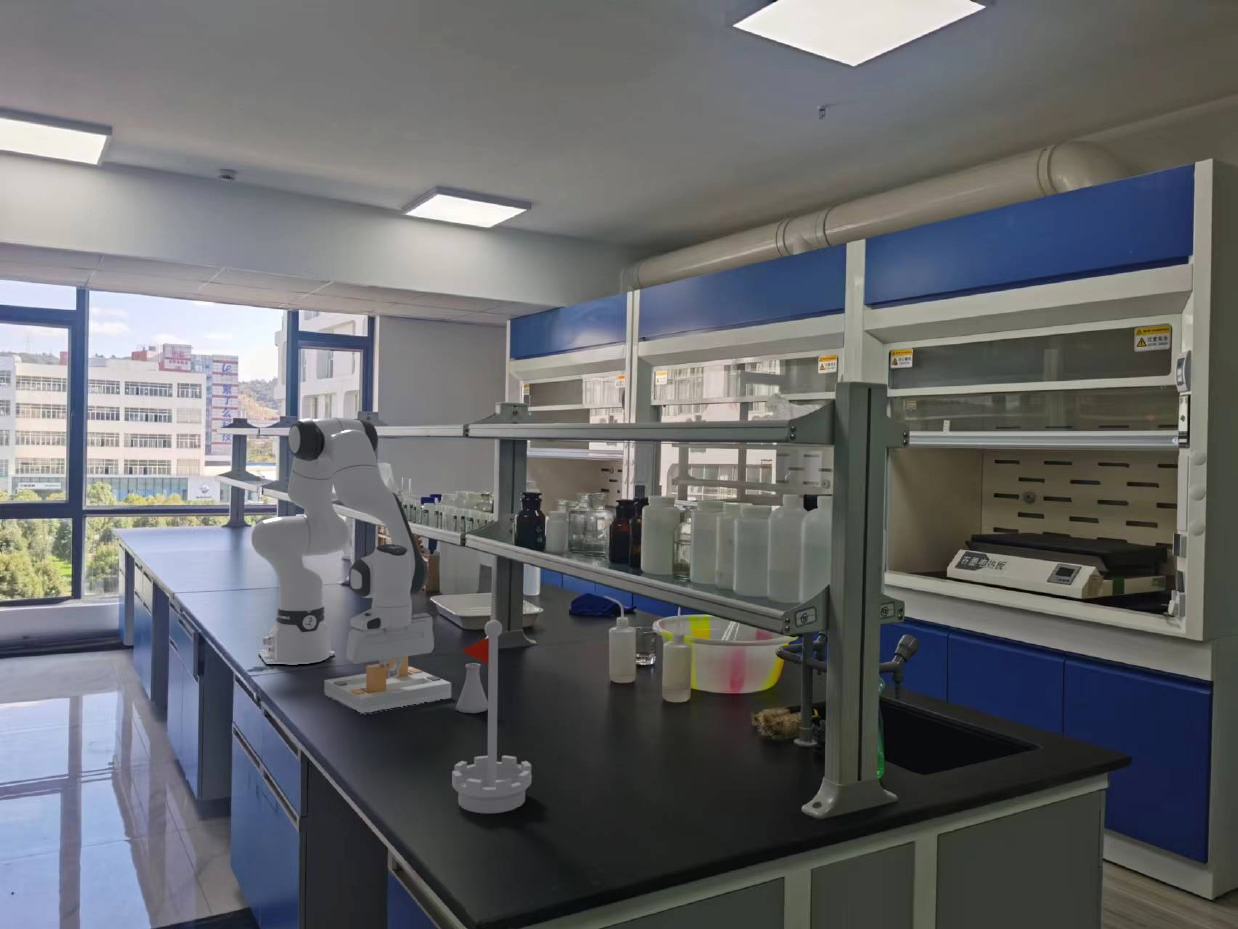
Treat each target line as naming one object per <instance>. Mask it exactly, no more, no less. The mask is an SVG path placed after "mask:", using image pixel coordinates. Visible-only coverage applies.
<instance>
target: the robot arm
mask: <svg viewBox="0 0 1238 929" xmlns="http://www.w3.org/2000/svg"><path fill="white" fill-rule="evenodd" d="M378 440H379V437H378V432H377V429H376V428H375V426H374V424H373V423H372V422H370V421H368V420H364V419H360V418H357V419H354V418H353V419H352V418H345V417H331V418H330V417H326V418H325V417H323V418H322V417H321V418H310V417H308V418H307V417H306V418H302V419H298V420H295V421H294V422H293V423H292V425H291V427H290V428H289V432H288V447H289V451H290V453H291V454H292V455H293V459H292V465H291V468H290V473H289V474H290V475H289V478H288V479H289V481H288V486H287V495H288V498H289V499H290V501H291V502H292V503H293V504H294V505H296V506H297V507H299V508H301V509H303V510H304V512H303V514H302V515H293V516H292V515H290V516H289V515H286V516H274V517H271V518H266V519H262V520H259V521H258V522H257V523H256V525H255V526H254V527H253V530H252V533H251V538H250V539H251V540H250V541H251V545H252V547H253V549H254V551H255V552H256V553H257V554H258V555H259V556H260V557H261V558H263V559H264V560H266V561H267V563H269V565H270V566H271V567H272V569H273V572H274V573H275V575H276V578H277V584H278V593H279V594H278V598H279V605H278V606H279V608H278V609H277V613H276V617H275V618H276V619H275V621H276V623H275V624H274V625H273V627H272V628H271V630H270V631H268V633H267V636H263V639H262V642H263V643H262V644H263V646H266V649H267V650H264V649H265V648H264V649H260V650H259V651H265V652H259V653H260V654H261V656H262V657H263V659H264V660H265V661H266V662H287V663H292V662H293V663H295V662H313V661H317V660H321V659H325V658H327V657H329V655H331V654H334V653H335V654H336V651H333V650H331V638H330V628H329V625H327V624H326V623H325V622H324V620H325V614H326V612H325V606H324V605H323V603H324V601H323V600H324V598H323V597H324V593H323V590H324V584H323V583H324V582H323V578H322V577H321V576H320V574H318V573H317V572H315V571H313V570H311V569H309V568H307V567H305V565H304V563H303V557H313V556H315V557H316V556H324V555H325V556H327V555H330V554H333V553H338V552H341V551H343V550H344V549H345V548H346V546H347V544H348V542H349V539H350V531H349V530H350V529H349V526H348V524H347V522H346V521H345V519H343V518H342V517H341V516H340V515H338V513H337V512H336V510H335V508H334V505H333V501H332V500H333V491H334V492H335V495H336V497H337V500H339V501H340V502H341V503H342V504H343V505H344V506H345V507H347V508H349V509H351V510H352V511H354V512H359V513H363V514H365V515H368V516H371V517H374V518H375V519H377V520H378V521H380V522H381V523H382V524H383V525H384V526H385V528H386V530H387V532H388V535H389V537H390V540H391V543H388V544H387V543H385V544H380V545H378V546H376V547H374V548H375V549H374V550H373V552H372V553H371V554H368V555H367V556H363V557H360V558H357V559H356V560H355V561H354V562H353V564H352V565H351V567H350V568H349V573H348V582H349V588H350V590H351V591H352V592H353V593H354V594H355V595H357V597H359V598H364V599H365V598H366V599H369V598H370V599H371V598H372V602H371V608H370V609H368V610H365V611H363V612H362V613H359V614H357V615H355V616H353V617H351V618H350V626H351V627H352V629H350V631H349V633H348V636H347V642H346V658H347V660H348V661H349V662H350V663H351V664H355V665H357V664H358V665H359V664H364V663H371V662H379V663H378V664H380V665H382V666H385V667H386V679H388V678H394V677H398V676H399V669H400V667H401V665H402V663H403V661H404V657H405V656H408V657H409V656H417V655H422V654H431V653H432V651H433V650H434V648H435V641H434V640H435V638H434V630H433V627H434V626H433V625H434V622H433V621H434V619H433V617H432V615H430V614H429V613H427V612H421V613H412V611H413V610H412V608H413V607H412V605H413V604H412V598H411V596H416V595H418V594H419V593H421V591H422V590H423V589H424V588H425V586H426V584H427V583H428V580H429V569H428V568H429V567H428V566H427V563H426V561H425V559H424V557H423V556H422V553H421V552H420V550H419V548H418V547H419V546H418V545H417V542H416V539H415V537H414V534H413V532H412V529H411V526H410V523H409V521H408V518H407V516H406V514H405V510H404V507H403V506H402V503H401V501H400V499H399V497H398V495H397V494H396V493H395V492H393V491H392V490H390V489H389V488H388V486H387V485H386V483H385V481H384V480H383V479H382V476H381V473H380V468H379V465H378V460H377V457H376V454H375V452H376V451H377V448H378V443H379V441H378ZM333 489H334V490H333ZM392 658H394V660H395V661H396V662H395V664H394V666H393V668H391V669H389V659H392ZM267 659H273V660H267Z"/></svg>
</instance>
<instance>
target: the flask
mask: <svg viewBox="0 0 1238 929" xmlns="http://www.w3.org/2000/svg"><path fill="white" fill-rule="evenodd" d="M481 665H482V664H480V663H473V662H472V663H467V664H465V669H466V674H465V676H466V677H465V681H464V684H463V687H462V690H461V693H460V695H459V698H458V701H457V703H456V706H455V709H454V710H456V711H458V712H460V713H464V714H465V713H466V714H478V713H482V712H486V711H488V699H487V698H488V697H487V696H486V694H485V691H484V687H483V685H482V681H481V676H480V668H481Z"/></svg>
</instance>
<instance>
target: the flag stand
mask: <svg viewBox="0 0 1238 929" xmlns="http://www.w3.org/2000/svg"><path fill="white" fill-rule="evenodd" d="M484 633H485V635H486V636H487V637H486V638H484V639H482V640H481V641H478V642H477V643H475V644H472V645H470V646H468V647H465V648H464V649H462V650H461V652H463V653H465V654H467V655H469V656H471V657H473V658H475V659H477V660H479V661H481V662H484V663H485V664H487V665H488V671H487V672H488V677H487V680H488V682H487V683H488V684H487V685H488V686H487V687H488V688H487V689H488V690H487V692H488V693H487V698H488V699H487V701H488V709H487V755H480V756H474V757H473V758H474V759H473V761H474V762H473V764H469V765H468V762H467V761H466V760H465V761H464V760H461V761H459V762H457V763H456V764H454V770H452V771H451V777H452V779H451V786H452V788H453V789H454V790H455V791H456V792H457V793H458V796H457V797H458V799H457V801H458V805H459V807H461V808H462V809H463V810H466V811H469V812H473V813H479V814H498V813H499V814H501V813H504V812H509V811H513V810H516V809H517V807H518V808H519V807H521V806H522V805H523V804H524V803H525V802H526V790H527V788H529V787H530V786H531V784H532V764H531V763H530V762H528V761H527V760H524V761H521V762H520V764H519V763H517V760H518V759H517V756H512V755H502V756H501V761H498V759H497V758H498V687H499V686H498V683H499V682H498V668H499V667H498V666H499V665H498V664H499V662H498V661H499V660H498V658H499V636H501V634H502V633H503V625H502V623H501V622H500V621H499V620H496V619H491V620H489V621H487V622H486V624H485V625H484Z"/></svg>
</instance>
